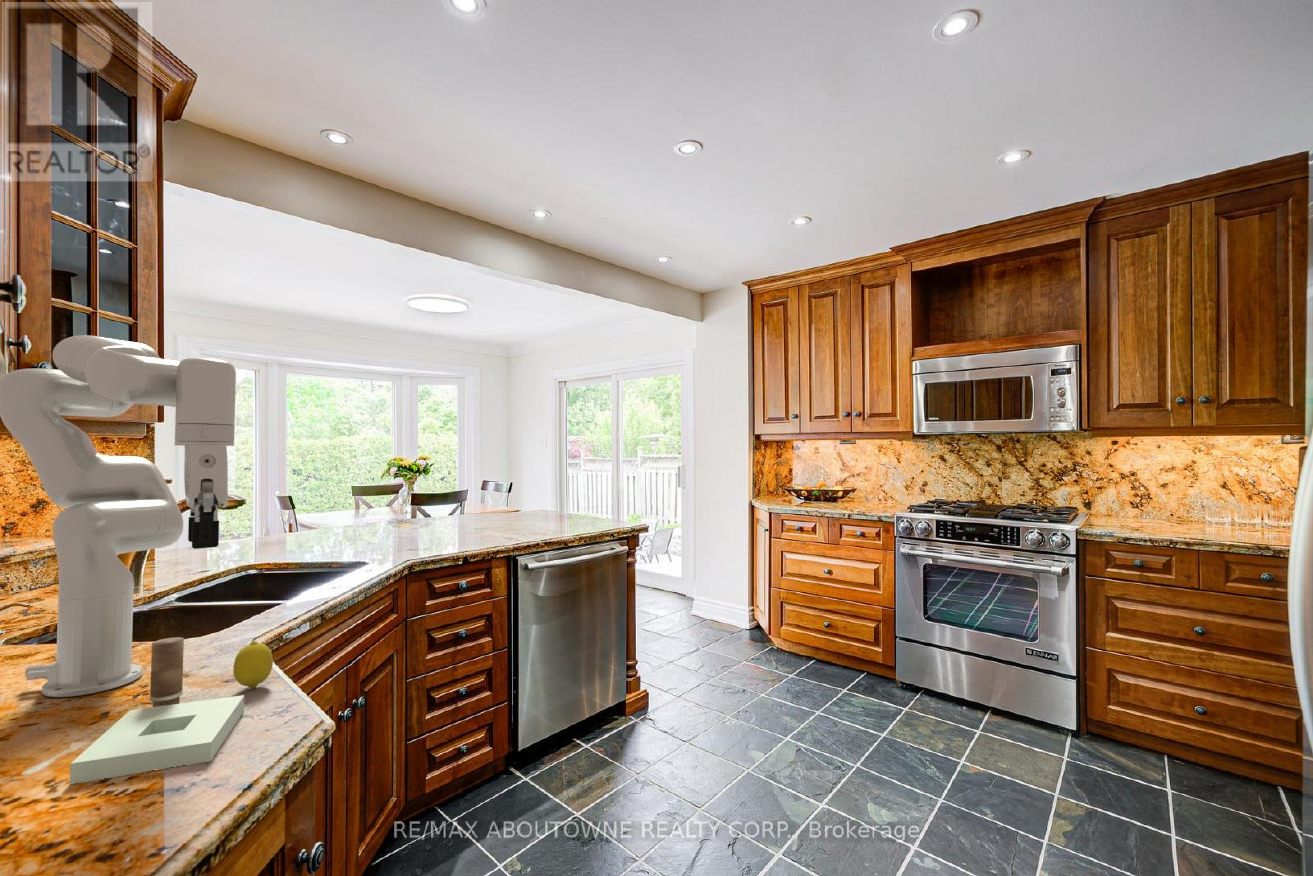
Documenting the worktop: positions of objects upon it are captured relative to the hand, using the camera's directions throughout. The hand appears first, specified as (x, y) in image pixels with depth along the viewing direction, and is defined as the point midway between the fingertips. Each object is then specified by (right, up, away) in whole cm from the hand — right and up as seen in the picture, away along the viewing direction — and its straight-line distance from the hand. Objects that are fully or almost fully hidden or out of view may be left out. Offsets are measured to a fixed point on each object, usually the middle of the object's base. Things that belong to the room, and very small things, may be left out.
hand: (202, 544), depth 92 cm
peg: (-4, -26, -2) cm, 26 cm away
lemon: (+3, -26, +7) cm, 27 cm away
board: (+4, -25, -12) cm, 28 cm away
